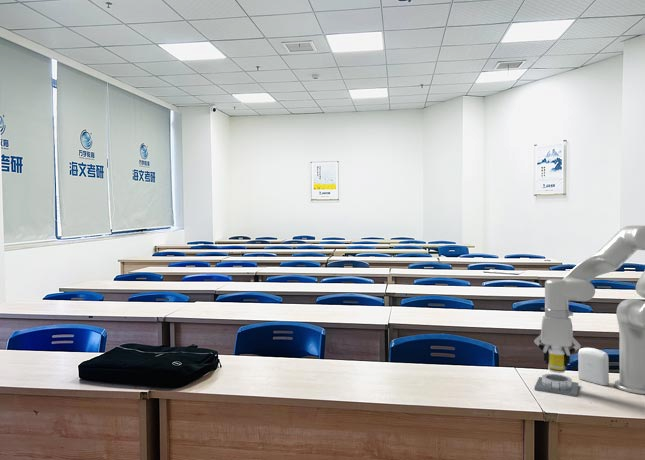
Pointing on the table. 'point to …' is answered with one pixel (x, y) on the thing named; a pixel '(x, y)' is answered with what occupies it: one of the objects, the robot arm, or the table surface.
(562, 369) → the supplement bottle
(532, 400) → the table surface
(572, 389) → the ring collar block
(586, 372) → the photo printer
